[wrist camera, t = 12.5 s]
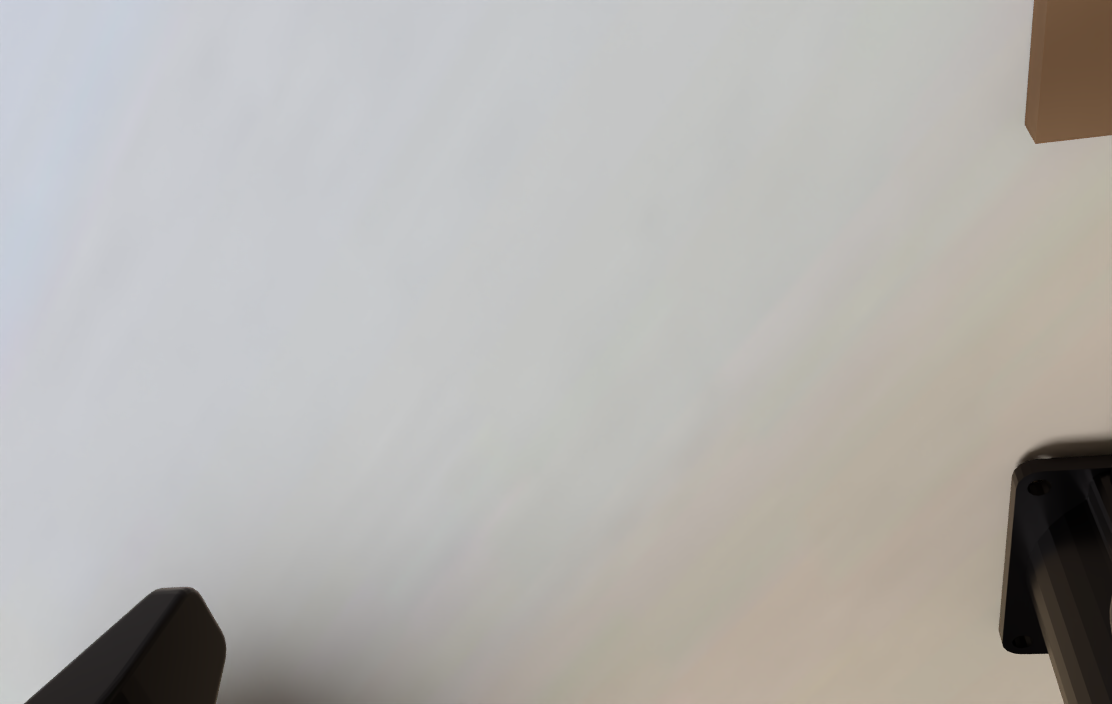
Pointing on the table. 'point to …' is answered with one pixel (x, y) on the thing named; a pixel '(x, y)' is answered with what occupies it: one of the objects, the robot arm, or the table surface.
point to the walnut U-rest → (1070, 70)
